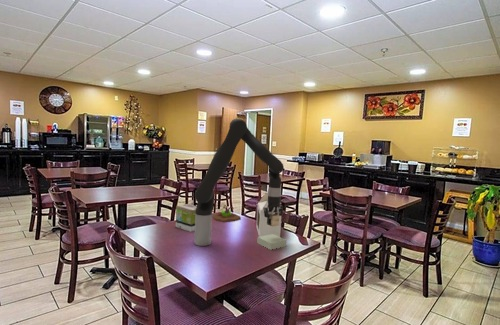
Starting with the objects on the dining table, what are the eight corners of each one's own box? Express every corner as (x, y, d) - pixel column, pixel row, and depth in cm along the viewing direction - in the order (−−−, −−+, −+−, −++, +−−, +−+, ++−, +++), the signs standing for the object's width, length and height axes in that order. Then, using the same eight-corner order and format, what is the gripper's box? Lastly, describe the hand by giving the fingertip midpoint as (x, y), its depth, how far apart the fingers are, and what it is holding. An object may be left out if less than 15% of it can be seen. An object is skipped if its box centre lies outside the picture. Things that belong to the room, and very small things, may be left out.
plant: (207, 217, 221) (208, 203, 220) (228, 214, 234) (228, 201, 233) (223, 224, 206) (223, 209, 205) (244, 220, 219) (244, 206, 218)
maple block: (266, 224, 168) (267, 214, 168) (273, 223, 171) (273, 213, 171) (272, 226, 164) (272, 216, 164) (278, 225, 167) (279, 215, 167)
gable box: (280, 238, 181) (282, 194, 179) (259, 238, 180) (261, 193, 178) (274, 228, 203) (277, 188, 201) (256, 227, 202) (258, 187, 200)
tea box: (174, 227, 192) (175, 205, 191) (186, 224, 200) (187, 203, 199) (190, 232, 184) (191, 209, 183) (201, 229, 192) (202, 207, 191)
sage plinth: (257, 243, 170) (257, 237, 170) (272, 240, 177) (272, 233, 177) (270, 250, 160) (270, 243, 160) (286, 246, 167) (286, 239, 167)
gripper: (279, 193, 174) (277, 220, 175) (260, 194, 165) (259, 223, 166) (287, 195, 168) (286, 224, 169) (269, 197, 159) (267, 227, 160)
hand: (272, 223), depth 168 cm, fingers closed on maple block, 5 cm apart
